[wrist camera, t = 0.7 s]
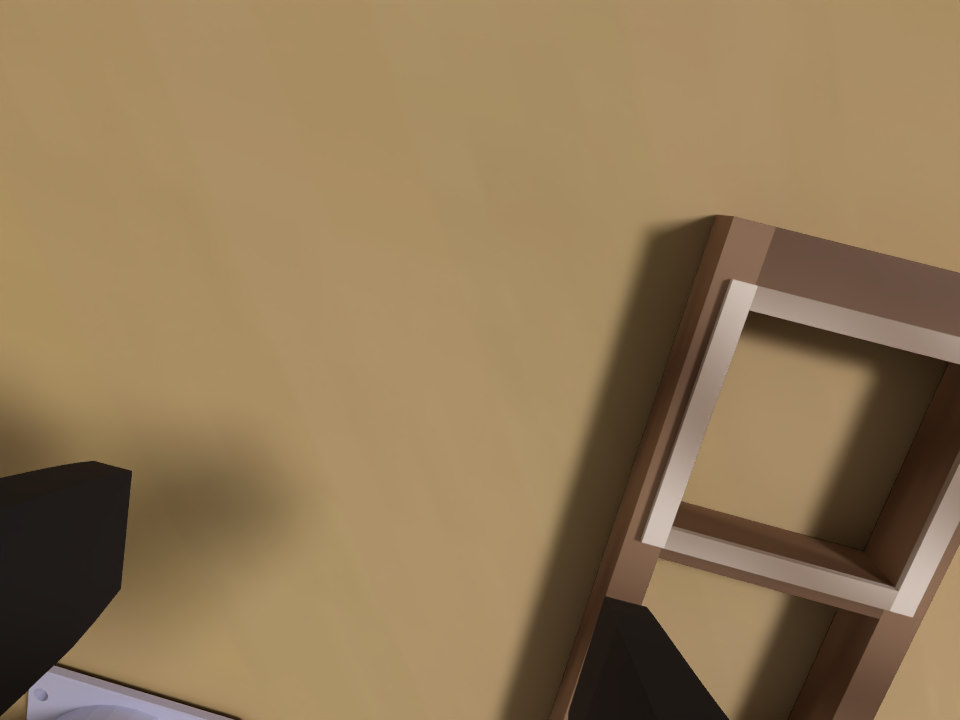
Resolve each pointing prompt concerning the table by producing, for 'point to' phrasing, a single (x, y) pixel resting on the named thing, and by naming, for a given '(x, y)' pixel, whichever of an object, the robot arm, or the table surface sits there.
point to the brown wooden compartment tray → (770, 550)
